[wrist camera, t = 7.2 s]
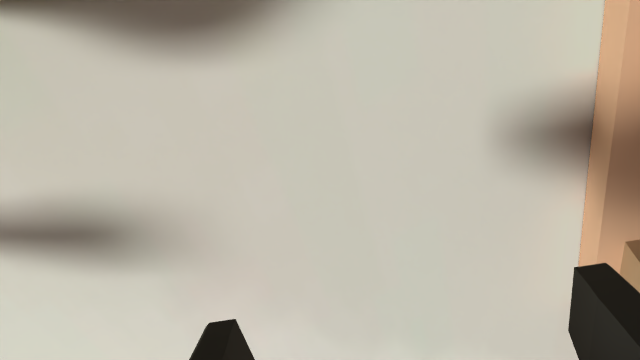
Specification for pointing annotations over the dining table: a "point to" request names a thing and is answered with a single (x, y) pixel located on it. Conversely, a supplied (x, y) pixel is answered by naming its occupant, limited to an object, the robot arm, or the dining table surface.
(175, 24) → the dining table surface
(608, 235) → the display stand
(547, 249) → the dining table surface
